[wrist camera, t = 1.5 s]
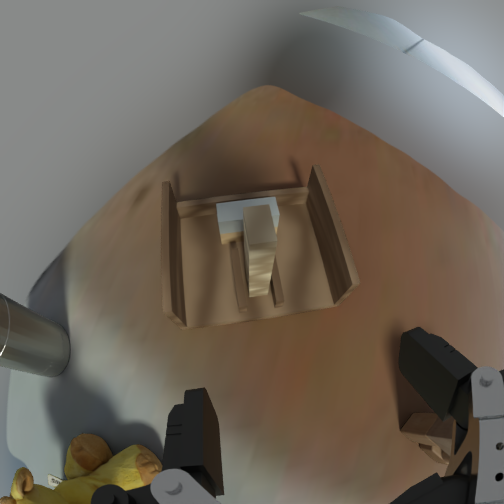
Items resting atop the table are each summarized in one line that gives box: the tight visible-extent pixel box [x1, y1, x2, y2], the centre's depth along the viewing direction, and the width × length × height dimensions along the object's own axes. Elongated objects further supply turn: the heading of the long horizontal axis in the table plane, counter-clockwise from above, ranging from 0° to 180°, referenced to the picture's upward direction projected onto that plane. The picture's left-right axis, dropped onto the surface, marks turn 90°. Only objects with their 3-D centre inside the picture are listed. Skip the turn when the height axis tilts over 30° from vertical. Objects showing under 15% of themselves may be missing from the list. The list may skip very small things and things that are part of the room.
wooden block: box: [400, 412, 455, 465], centre depth 21 cm, size 4×11×18 cm, turn 44°
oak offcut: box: [220, 227, 278, 244], centre depth 42 cm, size 8×3×3 cm, turn 99°
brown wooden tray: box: [161, 165, 360, 329], centre depth 38 cm, size 22×18×9 cm
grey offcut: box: [216, 197, 280, 234], centre depth 39 cm, size 8×3×3 cm, turn 99°
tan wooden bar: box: [243, 204, 277, 297], centre depth 33 cm, size 2×4×15 cm, turn 9°
